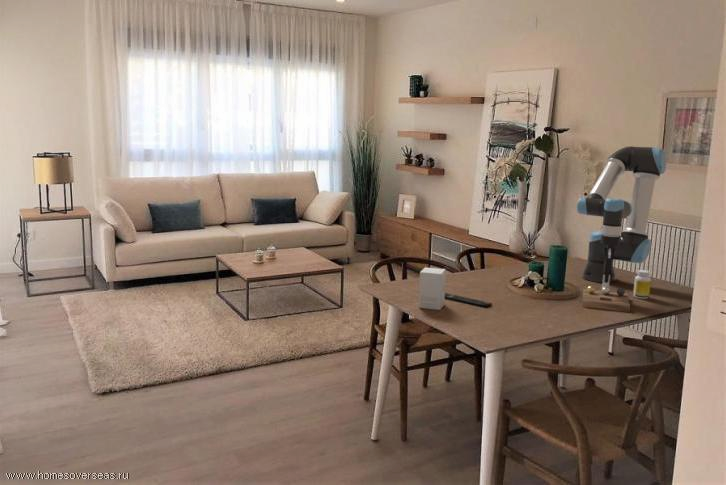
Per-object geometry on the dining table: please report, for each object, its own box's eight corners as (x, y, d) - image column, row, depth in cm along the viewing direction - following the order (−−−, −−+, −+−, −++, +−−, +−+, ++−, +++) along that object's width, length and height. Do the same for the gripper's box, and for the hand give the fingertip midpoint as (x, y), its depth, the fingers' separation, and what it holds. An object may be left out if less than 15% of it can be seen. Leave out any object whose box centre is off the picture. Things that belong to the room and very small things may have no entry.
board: (582, 293, 281) (583, 288, 281) (626, 298, 276) (627, 292, 275) (582, 306, 263) (582, 300, 262) (629, 311, 257) (630, 305, 257)
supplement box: (445, 304, 262) (446, 268, 259) (440, 310, 254) (441, 274, 251) (423, 301, 265) (424, 266, 262) (418, 307, 257) (419, 271, 254)
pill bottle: (650, 299, 275) (653, 273, 272) (634, 298, 276) (637, 272, 273) (647, 295, 281) (650, 269, 278) (631, 294, 282) (634, 268, 280)
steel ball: (601, 286, 274) (602, 286, 271) (609, 287, 273) (610, 287, 270) (601, 294, 274) (601, 294, 271) (609, 294, 273) (609, 295, 270)
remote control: (442, 295, 277) (442, 292, 276) (492, 306, 262) (493, 303, 262) (435, 298, 273) (436, 295, 272) (486, 309, 258) (487, 306, 258)
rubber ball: (616, 293, 273) (616, 286, 273) (624, 294, 272) (625, 287, 272) (616, 295, 270) (617, 288, 270) (624, 296, 269) (625, 289, 269)
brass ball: (586, 292, 275) (587, 284, 275) (594, 292, 274) (595, 285, 274) (586, 293, 272) (587, 286, 272) (594, 294, 271) (595, 287, 271)
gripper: (601, 231, 277) (595, 284, 282) (601, 237, 265) (596, 291, 269) (619, 233, 274) (614, 286, 279) (621, 238, 262) (615, 294, 267)
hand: (605, 289), depth 274 cm, fingers closed
